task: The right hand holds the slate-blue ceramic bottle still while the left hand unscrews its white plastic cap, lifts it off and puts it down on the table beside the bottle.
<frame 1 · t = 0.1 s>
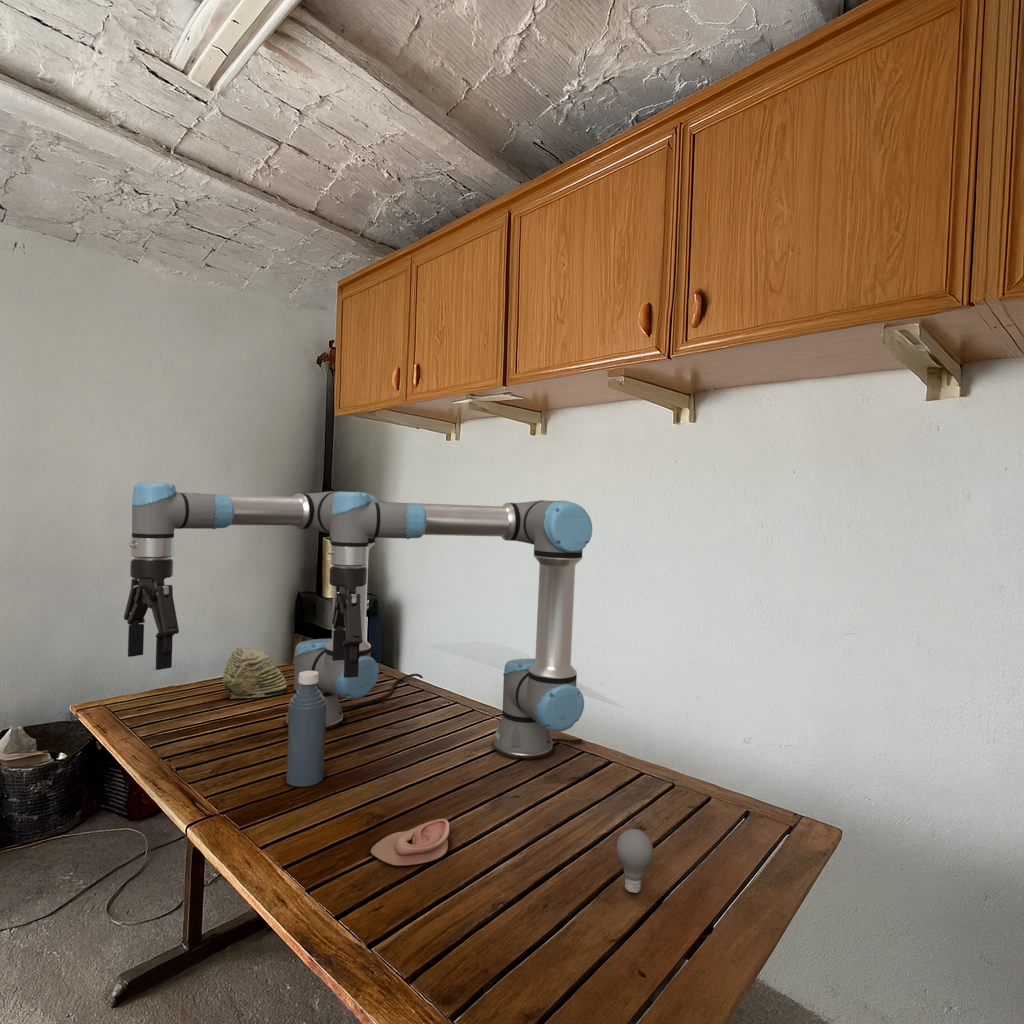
left hand: (149, 662, 129), 28 cm above the table, tool pointing down, fingers open, 13 cm apart
right hand: (344, 668, 132), 28 cm above the table, tool pointing down, fingers open, 13 cm apart
bottle: (304, 778, 142), on the table
anatomical model: (410, 850, 115), on the table
light bulb: (632, 891, 106), on the table
fossil: (254, 694, 198), on the table
cap: (308, 674, 141), point 24 cm above the table, screwed on, not yet turned
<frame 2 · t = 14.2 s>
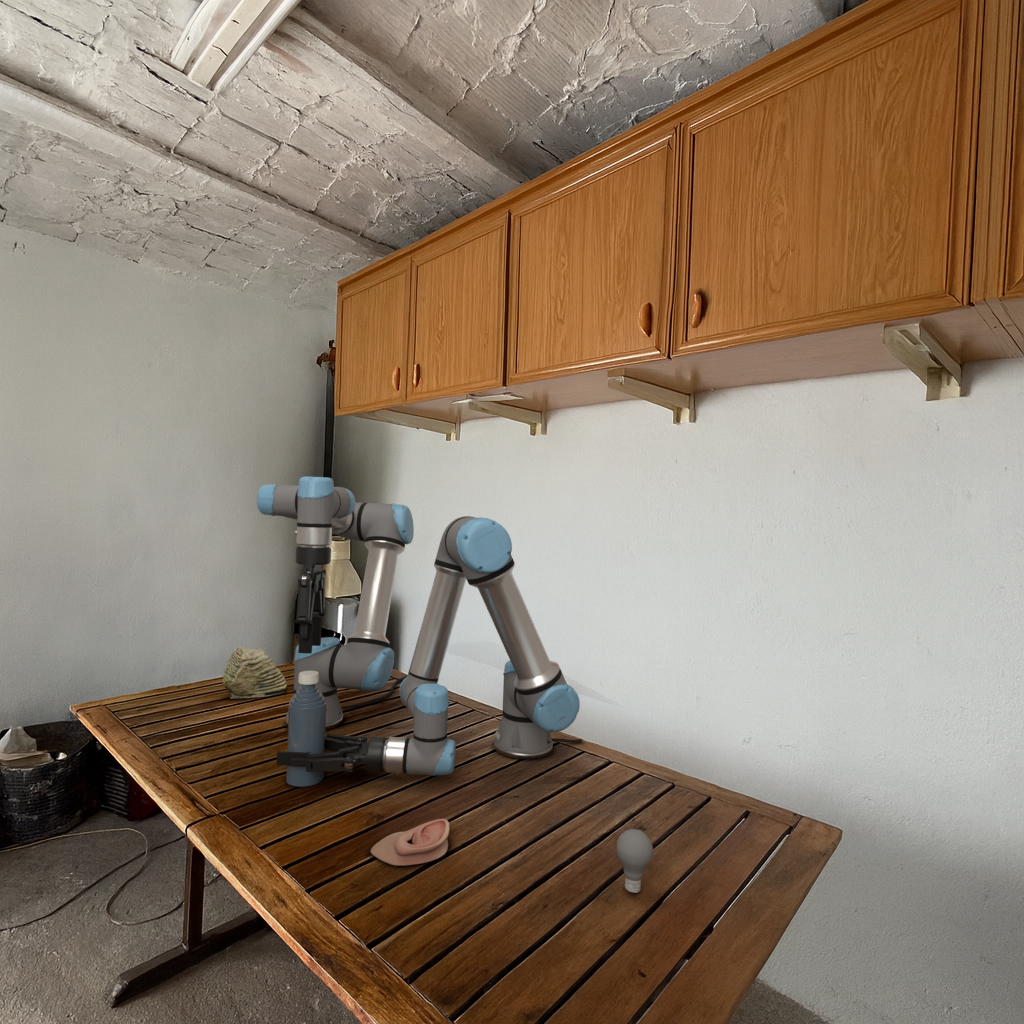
left hand: (309, 648, 141), 29 cm above the table, tool pointing down, fingers open, 6 cm apart
right hand: (284, 750, 142), 6 cm above the table, tool horizontal, fingers closed on bottle, 8 cm apart
bottle: (304, 778, 142), on the table, touching right hand
everything else where it was.
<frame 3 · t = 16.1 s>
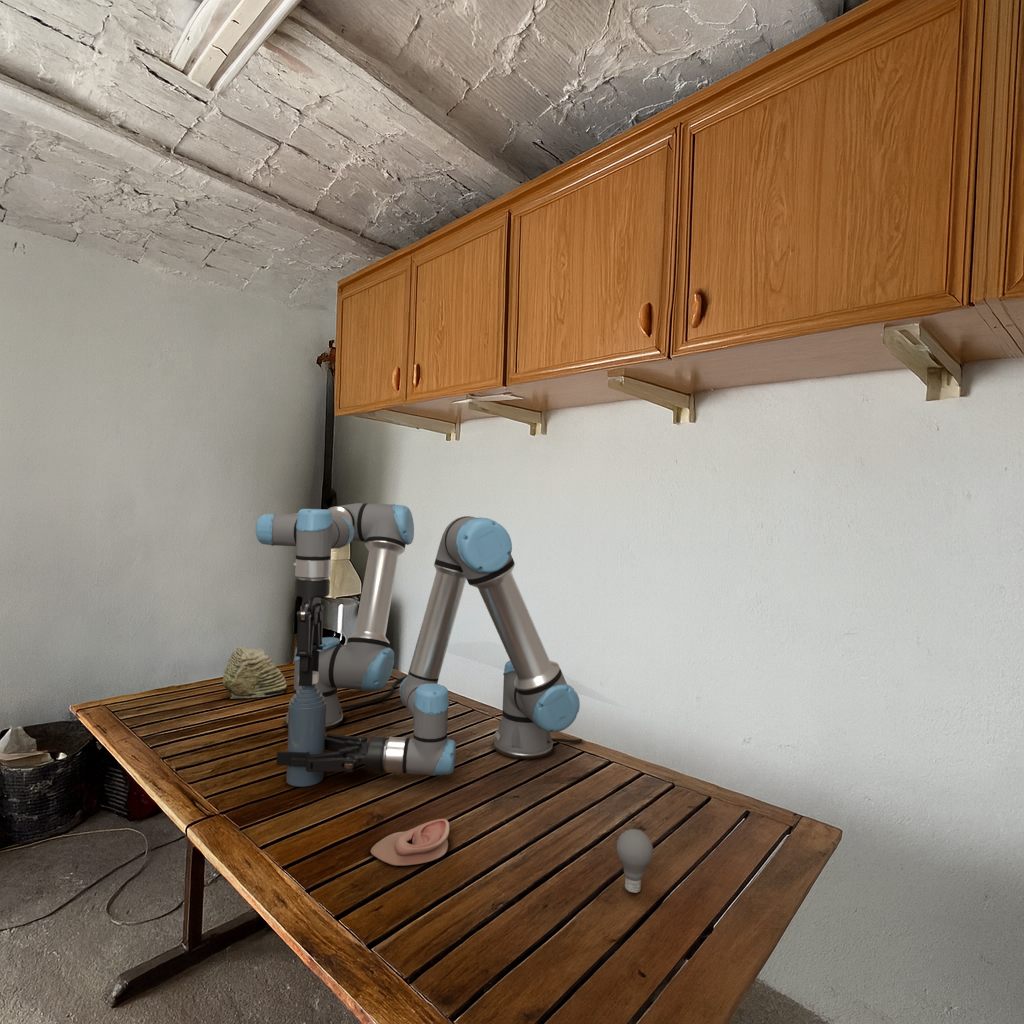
left hand: (308, 682, 142), 22 cm above the table, tool pointing down, fingers closed on cap, 4 cm apart
right hand: (284, 750, 142), 6 cm above the table, tool horizontal, fingers closed on bottle, 8 cm apart
bottle: (305, 778, 142), on the table, touching right hand
cap: (308, 674, 141), point 24 cm above the table, screwed on, not yet turned, touching left hand
everything else where it was.
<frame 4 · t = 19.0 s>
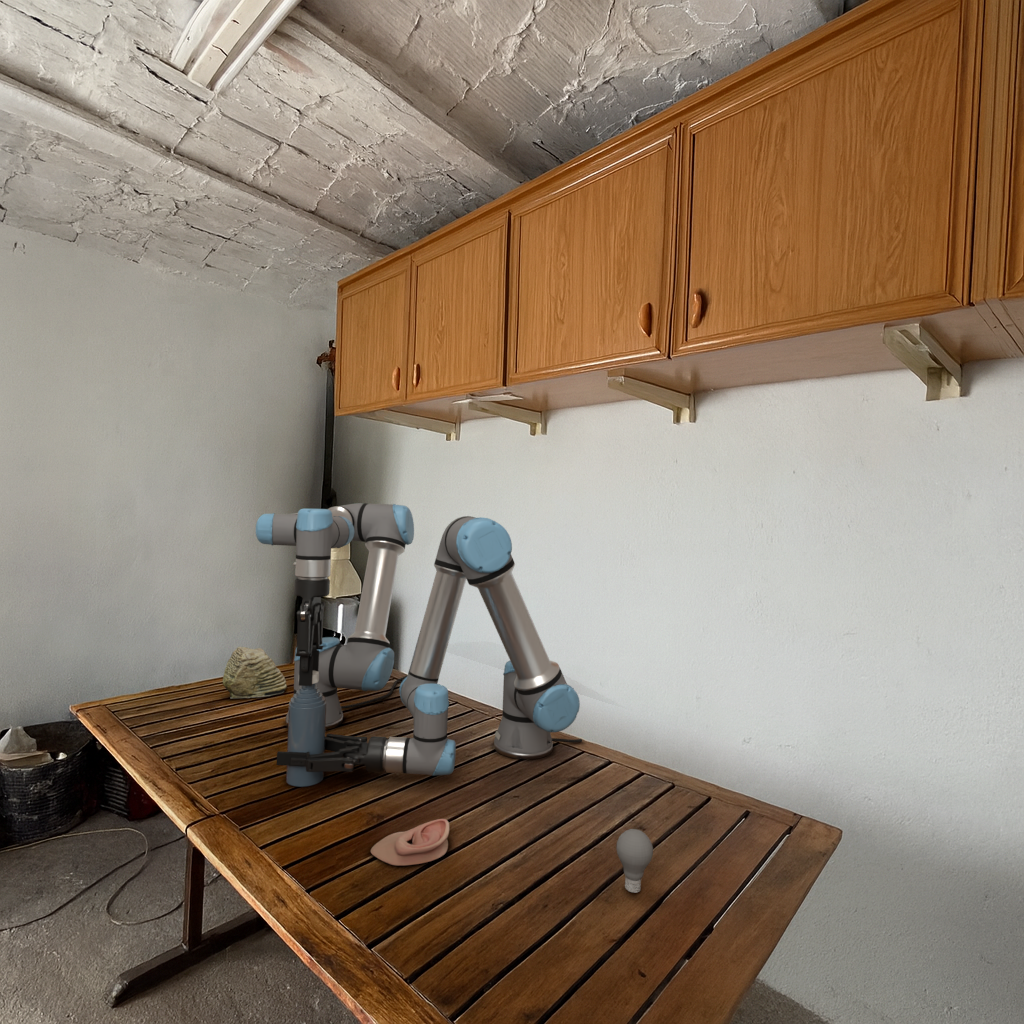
left hand: (308, 681, 142), 22 cm above the table, tool pointing down, fingers closed on cap, 4 cm apart
right hand: (284, 750, 142), 6 cm above the table, tool horizontal, fingers closed on bottle, 8 cm apart
bottle: (305, 778, 142), on the table, touching right hand
cap: (308, 674, 141), point 24 cm above the table, turned 76° so far, risen 0.1 cm, still on its thread, touching left hand
everything else where it was.
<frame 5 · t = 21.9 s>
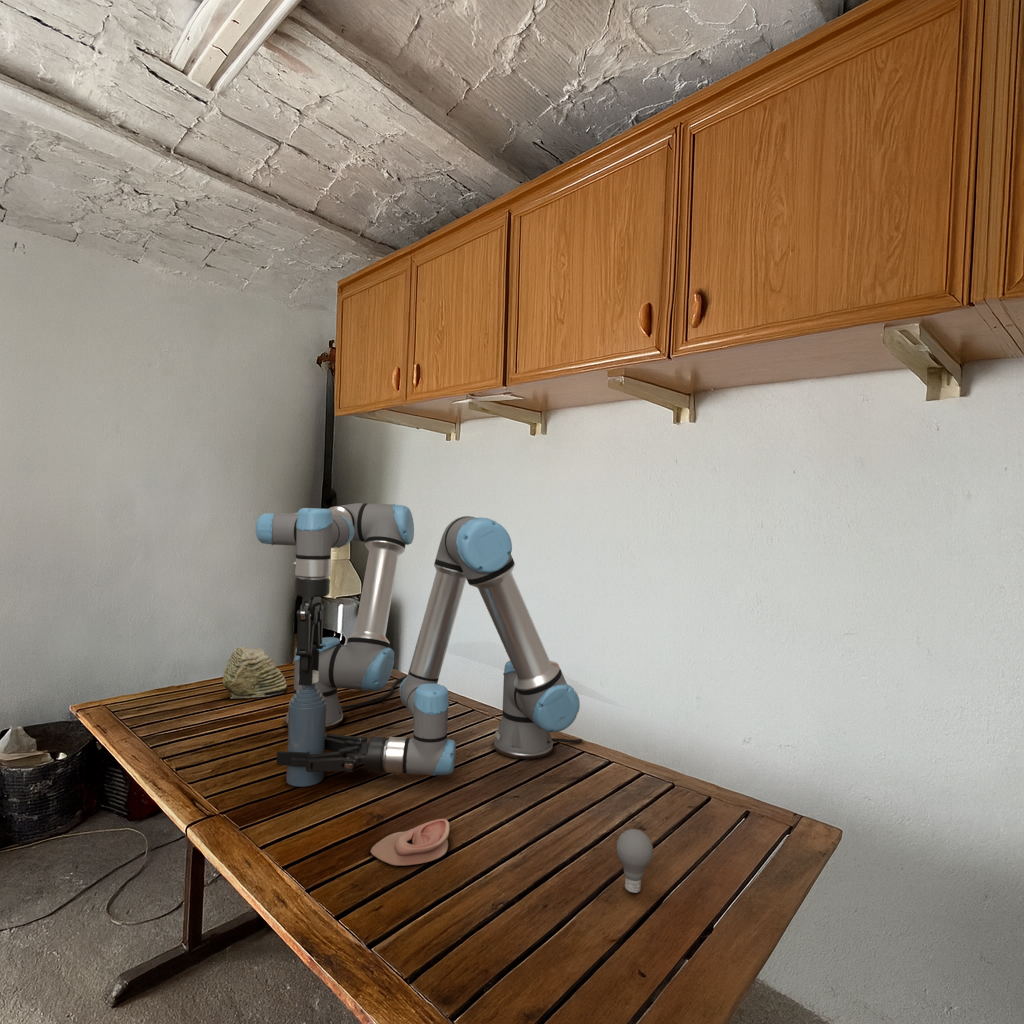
left hand: (308, 681, 141), 22 cm above the table, tool pointing down, fingers closed on cap, 4 cm apart
right hand: (284, 750, 142), 6 cm above the table, tool horizontal, fingers closed on bottle, 8 cm apart
bottle: (305, 778, 142), on the table, touching right hand
cap: (309, 673, 141), point 24 cm above the table, turned 152° so far, risen 0.2 cm, still on its thread, touching left hand
everything else where it was.
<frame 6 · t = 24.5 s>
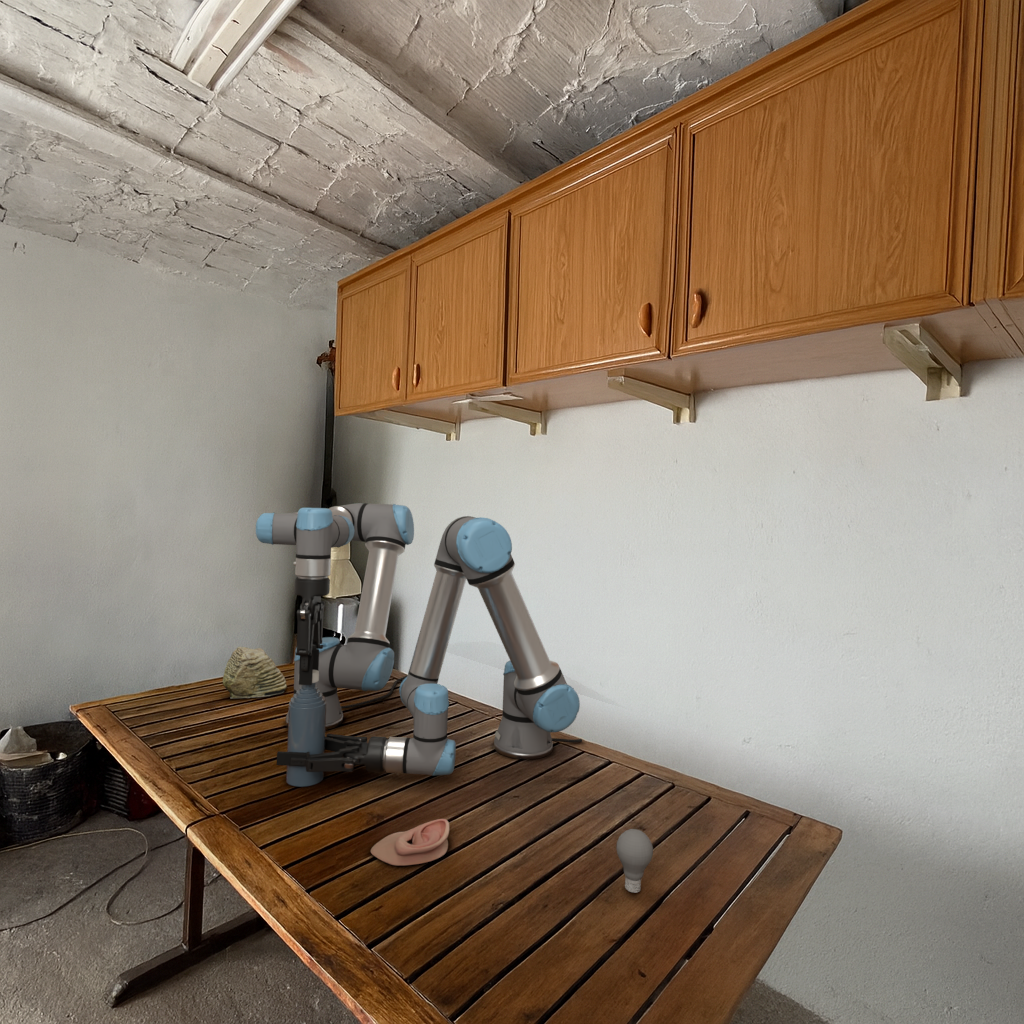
left hand: (308, 681, 141), 22 cm above the table, tool pointing down, fingers closed on cap, 4 cm apart
right hand: (284, 750, 142), 6 cm above the table, tool horizontal, fingers closed on bottle, 8 cm apart
bottle: (305, 778, 142), on the table, touching right hand
cap: (309, 673, 141), point 24 cm above the table, turned 228° so far, risen 0.3 cm, still on its thread, touching left hand
everything else where it was.
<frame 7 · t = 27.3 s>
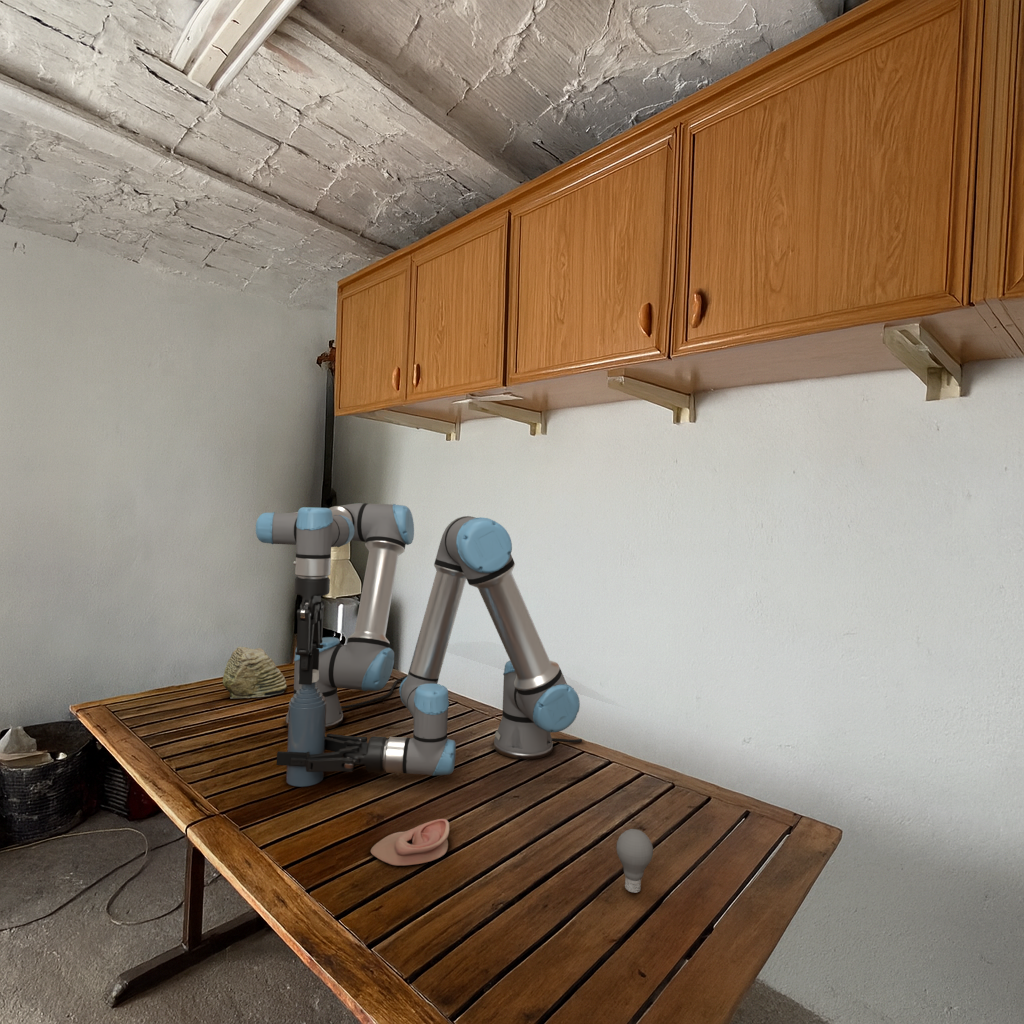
left hand: (308, 680, 141), 22 cm above the table, tool pointing down, fingers closed on cap, 4 cm apart
right hand: (284, 750, 142), 6 cm above the table, tool horizontal, fingers closed on bottle, 8 cm apart
bottle: (305, 778, 142), on the table, touching right hand
cap: (309, 672, 141), point 24 cm above the table, turned 304° so far, risen 0.3 cm, still on its thread, touching left hand
everything else where it was.
when the left hand's fingers open (1 cm above the table, at t = 35.7 s): cap drops 1 cm, point 2 cm above the table.
when the right hand's fingers open (6 cm above the table, at t = 37.0 s): bottle stays where it is, on the table.
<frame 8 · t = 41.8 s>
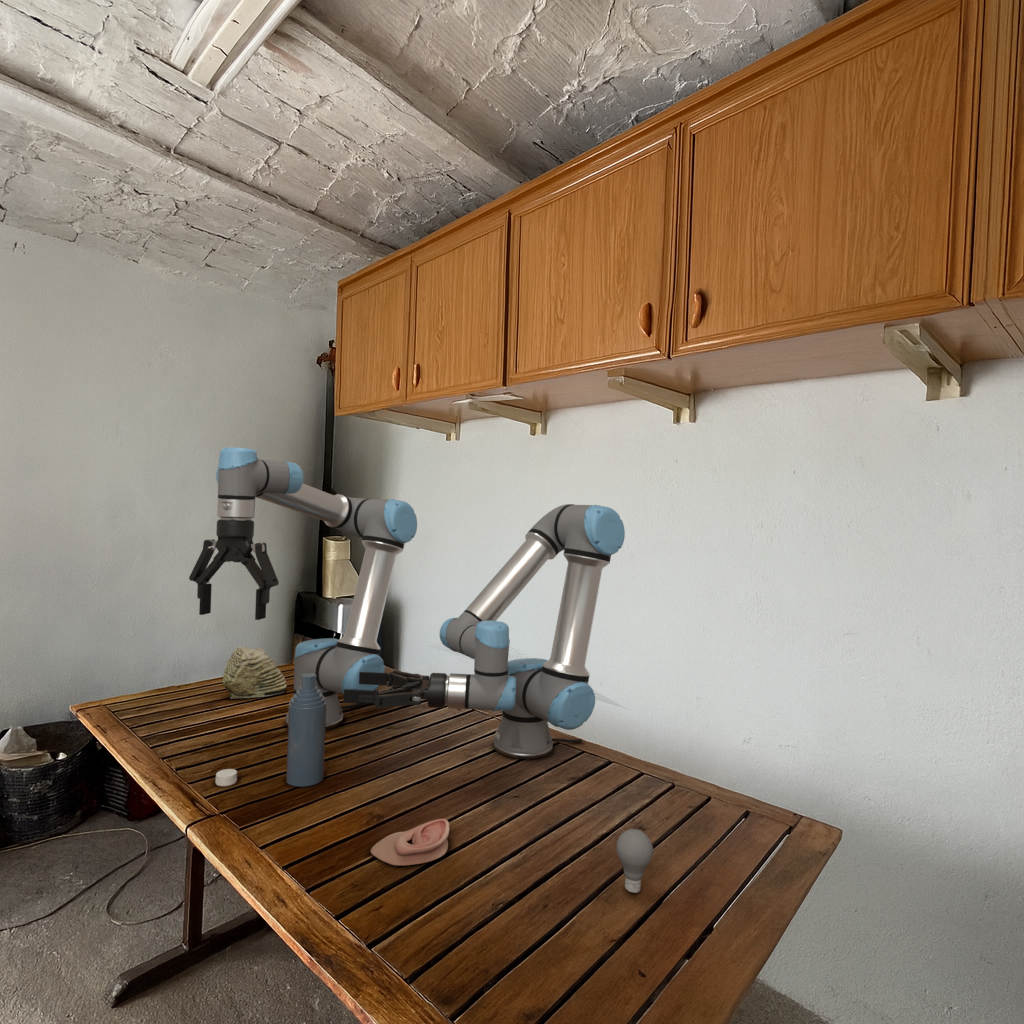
left hand: (232, 616, 138), 36 cm above the table, tool pointing down, fingers open, 13 cm apart
right hand: (351, 686, 142), 21 cm above the table, tool horizontal, fingers open, 13 cm apart
bottle: (305, 778, 142), on the table
cap: (226, 774, 139), point 2 cm above the table, off its thread
everything else where it was.
at the end: cap came off its thread; cap point 1.7 cm above the table; the left hand is holding nothing; the right hand is holding nothing; bottle tilted 0°; bottle moved 0.0 cm from its start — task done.
